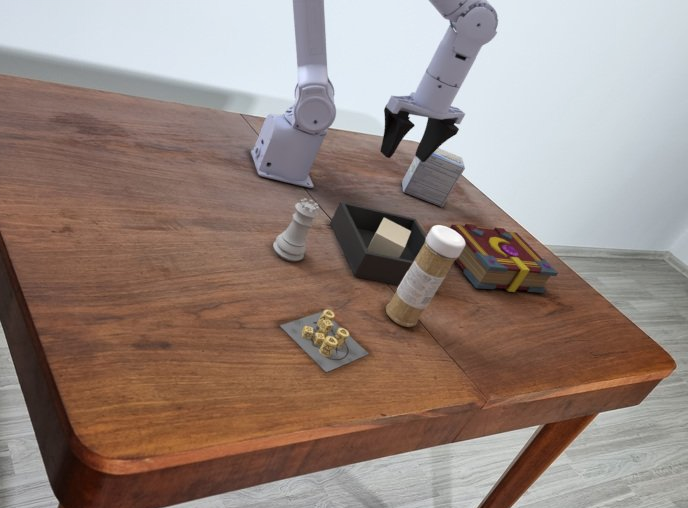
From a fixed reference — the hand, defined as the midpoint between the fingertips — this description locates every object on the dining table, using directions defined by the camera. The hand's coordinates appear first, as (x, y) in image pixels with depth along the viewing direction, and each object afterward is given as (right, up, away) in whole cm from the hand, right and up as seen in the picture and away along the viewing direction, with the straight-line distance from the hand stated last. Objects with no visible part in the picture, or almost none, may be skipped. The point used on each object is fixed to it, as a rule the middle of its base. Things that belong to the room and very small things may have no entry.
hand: (402, 156), depth 113 cm
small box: (-5, -16, -9) cm, 19 cm away
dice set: (-15, -27, -30) cm, 43 cm away
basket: (-5, -16, -9) cm, 19 cm away
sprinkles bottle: (-4, -25, -20) cm, 32 cm away
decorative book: (+15, -18, +1) cm, 23 cm away
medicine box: (+6, -4, +16) cm, 17 cm away
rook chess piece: (-19, -16, -18) cm, 31 cm away
